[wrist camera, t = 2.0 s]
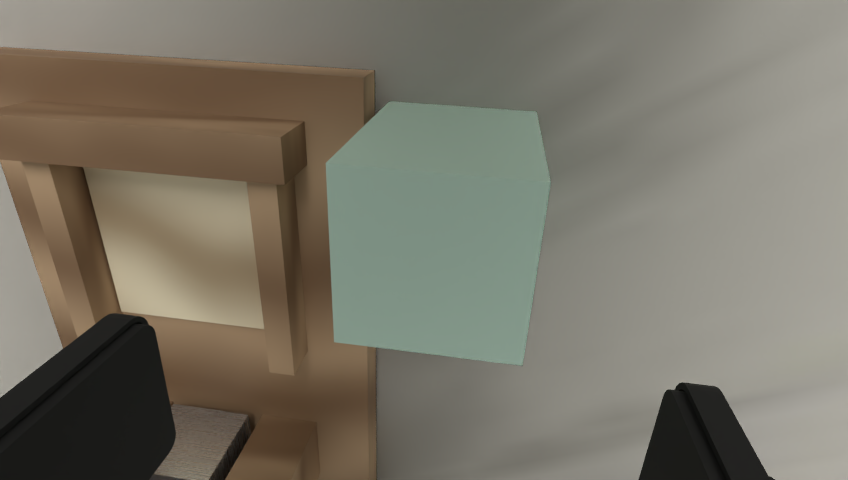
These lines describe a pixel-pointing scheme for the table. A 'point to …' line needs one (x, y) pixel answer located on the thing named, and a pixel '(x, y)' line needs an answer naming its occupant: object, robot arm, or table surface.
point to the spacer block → (438, 230)
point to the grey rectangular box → (204, 444)
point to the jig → (201, 233)
